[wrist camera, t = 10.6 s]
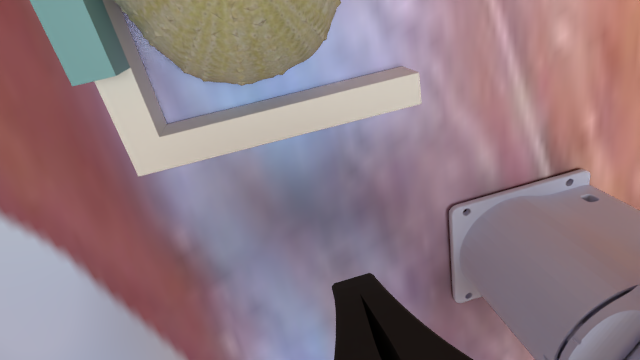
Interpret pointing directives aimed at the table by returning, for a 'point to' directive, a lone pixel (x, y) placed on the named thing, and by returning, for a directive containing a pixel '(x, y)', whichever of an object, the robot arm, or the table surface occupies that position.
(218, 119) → the comb rack
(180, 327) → the table surface
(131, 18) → the sea urchin shell
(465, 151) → the table surface
